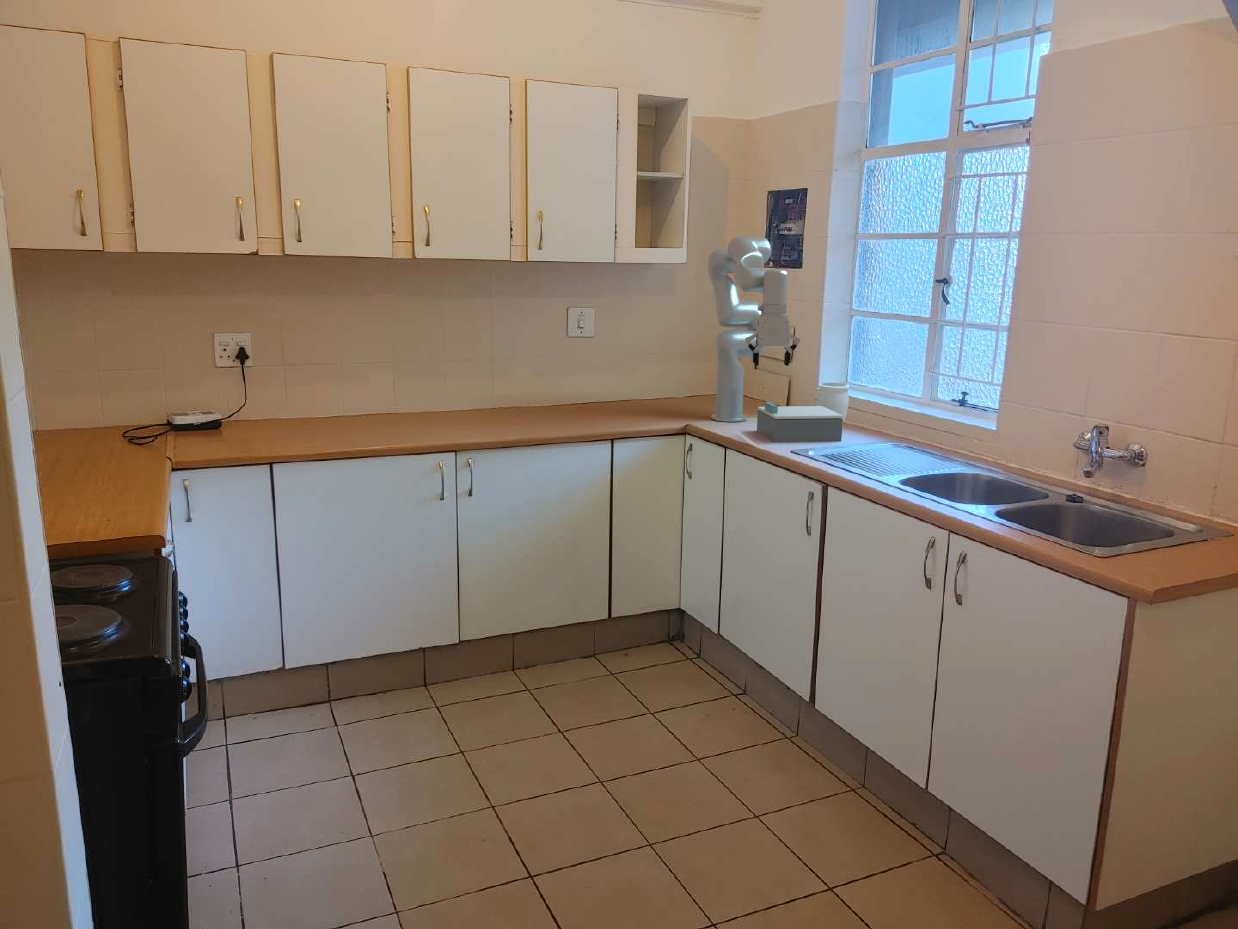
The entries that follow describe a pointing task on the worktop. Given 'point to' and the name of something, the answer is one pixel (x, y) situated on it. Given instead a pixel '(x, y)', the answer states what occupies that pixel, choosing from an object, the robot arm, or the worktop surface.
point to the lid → (798, 412)
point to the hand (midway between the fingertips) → (771, 365)
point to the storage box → (799, 429)
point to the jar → (834, 397)
